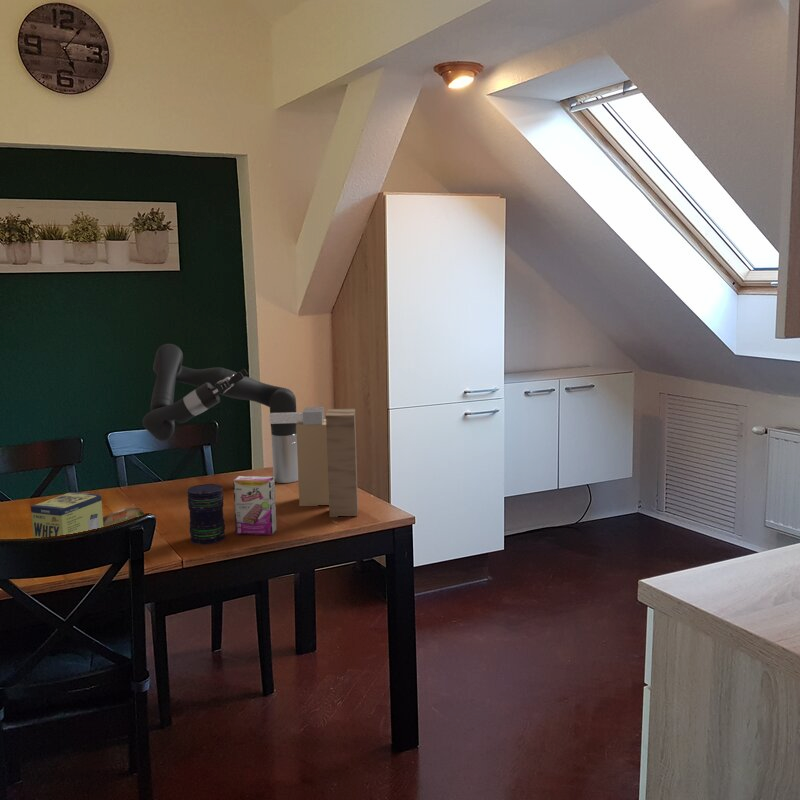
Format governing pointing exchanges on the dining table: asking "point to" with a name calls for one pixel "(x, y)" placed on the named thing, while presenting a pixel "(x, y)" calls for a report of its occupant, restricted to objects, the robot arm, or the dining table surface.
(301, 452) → the cardboard box
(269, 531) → the candy bar box
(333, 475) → the tall wooden plank
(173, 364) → the robot arm
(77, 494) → the protein box
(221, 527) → the storage jar
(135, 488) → the dining table surface
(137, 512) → the tin
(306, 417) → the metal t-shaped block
